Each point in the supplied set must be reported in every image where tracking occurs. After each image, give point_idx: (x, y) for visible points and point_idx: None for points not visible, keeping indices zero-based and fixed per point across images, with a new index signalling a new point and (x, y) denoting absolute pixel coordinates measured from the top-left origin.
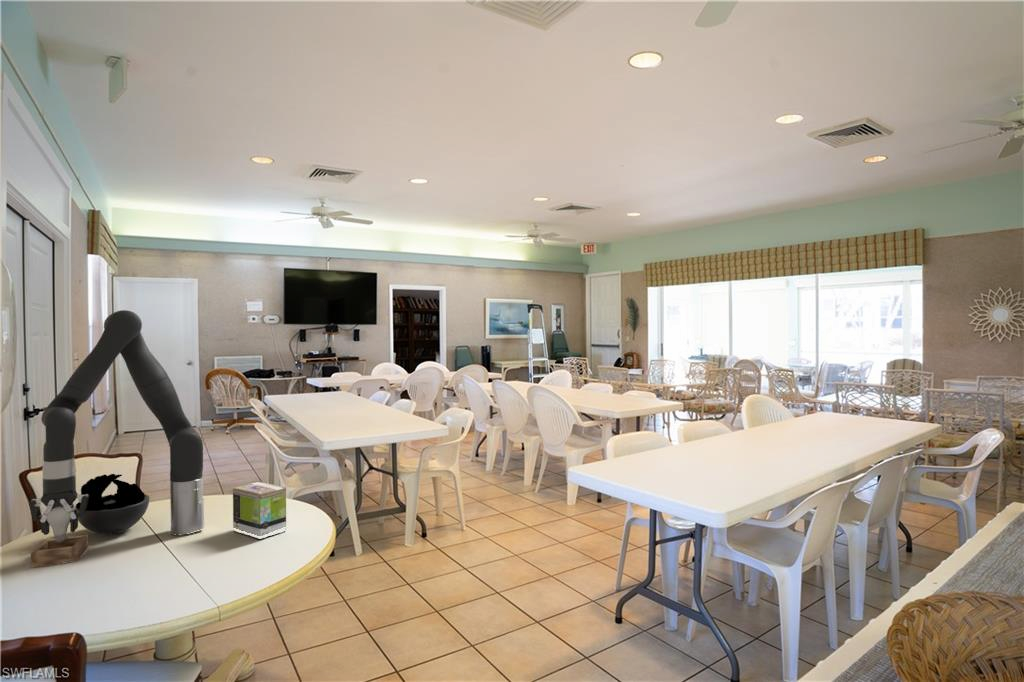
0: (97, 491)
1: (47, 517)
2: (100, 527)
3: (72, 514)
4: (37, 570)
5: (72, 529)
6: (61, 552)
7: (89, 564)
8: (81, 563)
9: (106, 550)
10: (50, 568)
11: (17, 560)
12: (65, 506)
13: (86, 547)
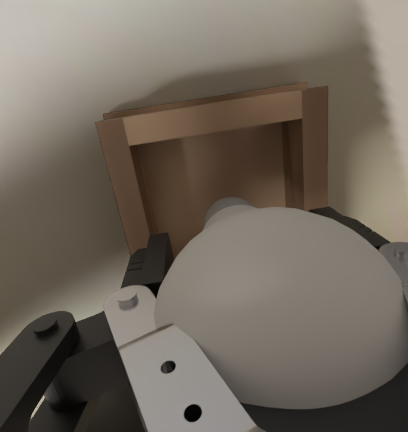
0: None
1: (381, 254)
2: (125, 387)
3: (132, 319)
4: (247, 25)
5: (152, 238)
6: (174, 109)
7: (12, 42)
8: (68, 73)
9: (47, 231)
10: (194, 38)
11: (378, 194)
12: (203, 404)
13: None
